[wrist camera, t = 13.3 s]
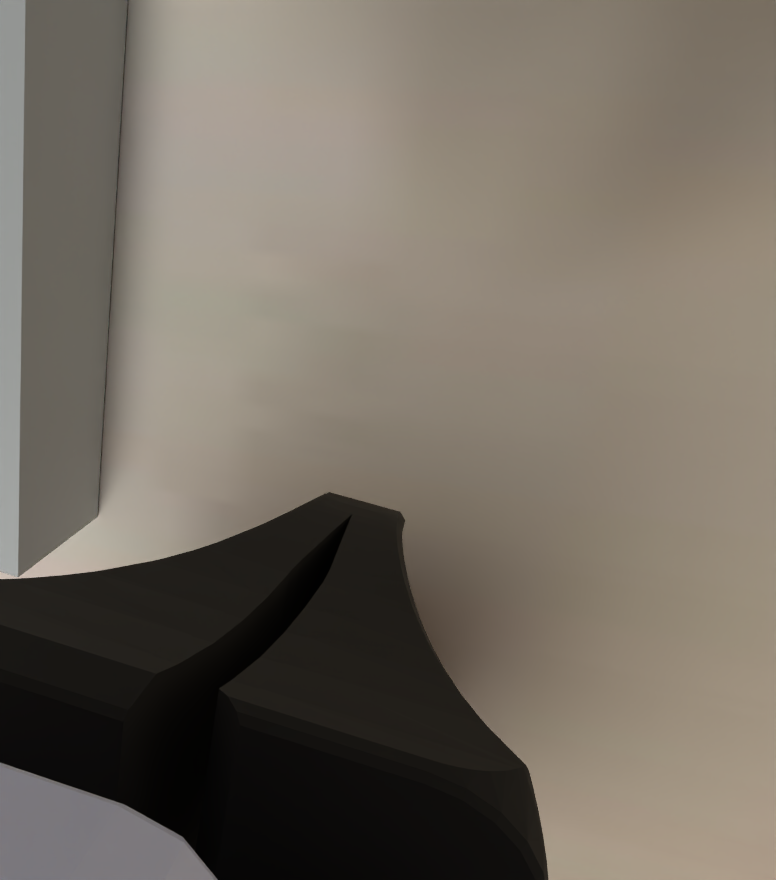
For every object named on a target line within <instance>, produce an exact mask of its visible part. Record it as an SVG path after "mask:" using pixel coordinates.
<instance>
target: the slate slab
mask: <svg viewBox="0 0 776 880" xmlns="http://www.w3.org/2000/svg"><path fill="white" fill-rule="evenodd" d="M127 5H128V0H0V572H2V573H6V574H9V575H12V576H15V577H19V576H20V575H22V574H23V573H24V572H26V571H27V570H28V569H30V568H31V567H32V566H33V565H35V564H36V563H37V562H39V561H40V560H41V559H43V558H44V557H45V556H47V555H48V554H49V553H50V552H52V551H53V550H54V549H56V548H57V547H58V546H60V545H61V544H62V543H64V542H65V541H66V540H68V539H69V538H70V537H71V536H73V535H74V534H75V533H77V532H78V531H79V530H81V529H82V528H83V527H85V526H86V525H87V524H89V523H90V522H91V521H92V520H94V519H95V518H96V517H97V514H98V497H99V480H100V464H101V447H102V430H103V413H104V396H105V379H106V362H107V345H108V328H109V311H110V294H111V277H112V260H113V243H114V226H115V209H116V192H117V175H118V158H119V141H120V124H121V107H122V90H123V73H124V56H125V39H126V22H127Z"/></svg>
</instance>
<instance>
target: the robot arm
mask: <svg viewBox="0 0 776 880" xmlns="http://www.w3.org/2000/svg"><path fill="white" fill-rule="evenodd" d="M404 522H405V519H404V518H403V516H402V514H401V513H400V512H399V511H395V510H391V509H388V508H384V507H381V506H377V505H373V504H370V503H366V502H363V501H359V500H355V499H352V498H348V497H344V496H341V495H337V494H334V493H330V492H329V493H326V494H324V495H322V496H320V497H318V498H316V499H314V500H312V501H310V502H308V503H306V504H304V505H302V506H300V507H298V508H296V509H294V510H292V511H290V512H288V513H285V514H283V515H281V516H279V517H277V518H275V519H273V520H271V521H269V522H267V523H264V524H262V525H260V526H257V527H255V528H252V529H250V530H247V531H245V532H242V533H240V534H237V535H235V536H232V537H230V538H227V539H225V540H222V541H220V542H217V543H214V544H212V545H209V546H206V547H203V548H199V549H196V550H193V551H190V552H186V553H182V554H179V555H175V556H171V557H168V558H164V559H160V560H155V561H151V562H145V563H140V564H134V565H129V566H124V567H118V568H113V569H108V570H102V571H96V572H88V573H79V574H71V575H62V576H50V577H37V578H22V579H0V880H548V871H547V860H546V853H545V846H544V839H543V833H542V828H541V822H540V817H539V811H538V807H537V802H536V798H535V794H534V789H533V785H532V781H531V777H530V773H529V770H528V768H527V767H526V765H525V764H524V763H523V762H522V761H521V760H520V759H519V758H518V757H517V756H516V755H515V754H514V753H513V752H512V751H511V750H510V749H509V748H508V747H507V746H506V745H505V744H504V743H503V742H502V741H501V740H500V739H499V738H498V737H497V736H496V735H495V734H494V733H493V732H492V731H491V730H490V729H489V728H488V727H487V726H486V724H485V723H484V722H483V721H482V720H481V719H480V718H479V716H478V715H477V714H476V713H475V711H474V710H473V709H472V708H471V706H470V705H469V704H468V703H467V701H466V700H465V699H464V698H463V696H462V695H461V694H460V692H459V691H458V689H457V688H456V686H455V685H454V683H453V682H452V680H451V678H450V677H449V675H448V674H447V672H446V671H445V669H444V668H443V666H442V664H441V662H440V660H439V658H438V657H437V655H436V653H435V651H434V649H433V647H432V645H431V643H430V641H429V638H428V636H427V634H426V632H425V630H424V627H423V625H422V622H421V620H420V617H419V614H418V611H417V609H416V605H415V602H414V599H413V596H412V593H411V589H410V585H409V581H408V577H407V572H406V567H405V562H404V555H403V546H402V531H403V526H404Z"/></svg>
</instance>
